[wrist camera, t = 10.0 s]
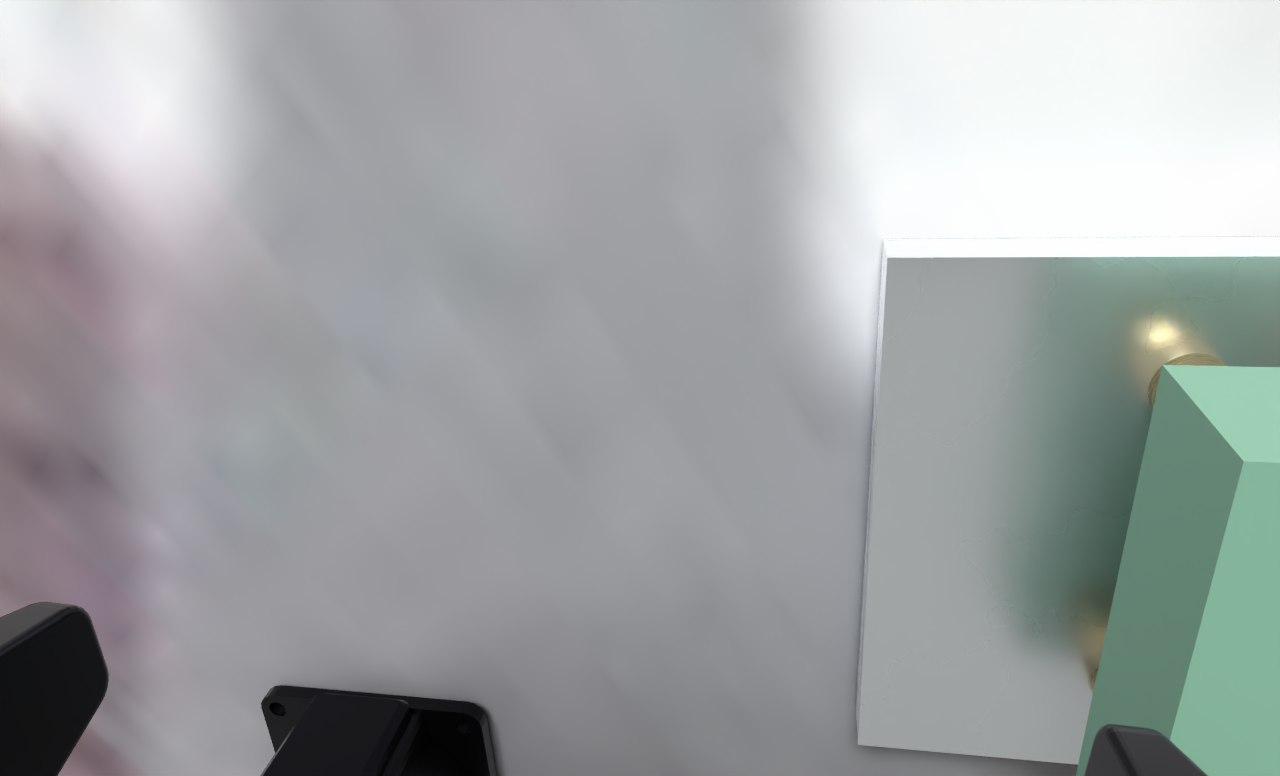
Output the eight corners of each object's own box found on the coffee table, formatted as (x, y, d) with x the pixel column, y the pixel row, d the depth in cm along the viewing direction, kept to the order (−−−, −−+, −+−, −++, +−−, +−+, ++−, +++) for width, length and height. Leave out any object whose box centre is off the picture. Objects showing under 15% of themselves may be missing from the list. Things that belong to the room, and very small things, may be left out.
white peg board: (1502, 761, 20) (1635, 918, 17) (855, 707, 23) (862, 835, 19) (1750, 233, 15) (2009, 311, 12) (883, 238, 18) (898, 304, 14)
